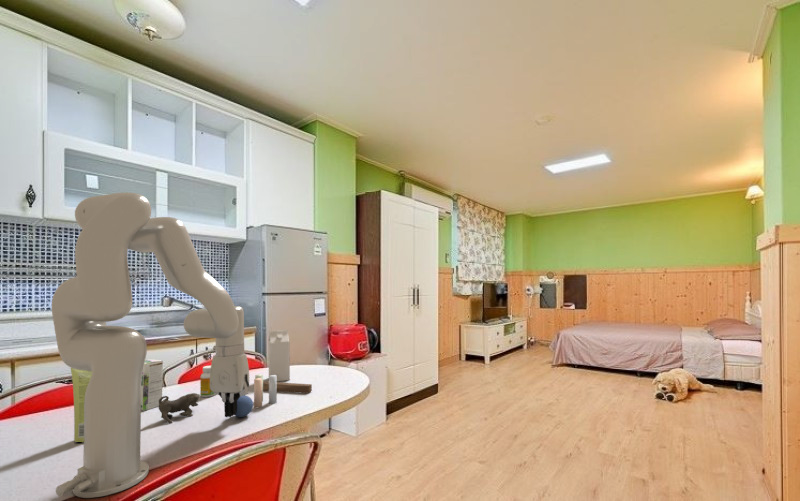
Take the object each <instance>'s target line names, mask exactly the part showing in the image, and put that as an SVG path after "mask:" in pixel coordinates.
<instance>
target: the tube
mask: <svg viewBox="0 0 800 501" xmlns="http://www.w3.org/2000/svg"><path fill="white" fill-rule="evenodd" d="M70 372H71V379H72V380H71V381H72V392H73V394H72V395H73V418H74V419H73V420H74V421H73V423H74V425H73V426H74V428H73V429H74V431H73V432H74V434H73V436H74V438H73V440H74V442H75V443H76V442H82V443H84V400H85V393H86V389H87V386H88V384H89V381H90V379H91V376H92V372H91V371H83V370H77V369H74V368H71V367H70Z"/></svg>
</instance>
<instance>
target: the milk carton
mask: <svg viewBox="0 0 800 501" xmlns="http://www.w3.org/2000/svg"><path fill="white" fill-rule="evenodd" d="M290 344H291V343H290V336H289V329H284V330H283V329H282V330H271V331H269V336H268V377H269V376H270V375H277V382H285V381H290V380H291V379H290V377H291V373H290V372H291V371H290V370H291V368H290V366H291V365H290V363H291V361H290V358H291V355H290V354H291V353H290V352H291V351H290V347H291V346H290Z"/></svg>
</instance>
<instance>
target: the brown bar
mask: <svg viewBox="0 0 800 501" xmlns="http://www.w3.org/2000/svg"><path fill="white" fill-rule="evenodd" d="M263 391H266V392H267V391H268V392H269V381H263ZM311 391H313V390H312V383H296V382H295V383H293V382H281V381H277V392H282V393H296V392H301V393H300V394H310V393H312V392H311Z"/></svg>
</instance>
